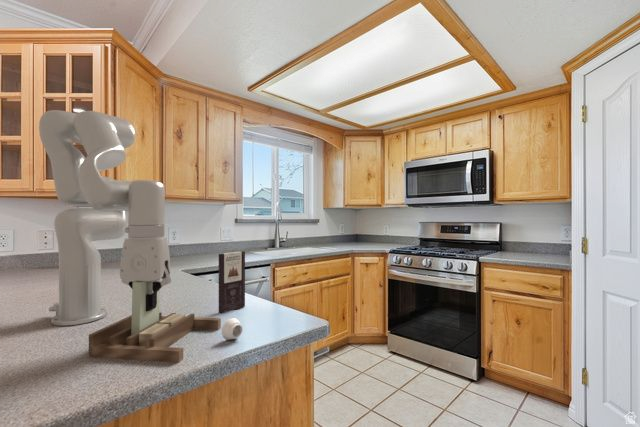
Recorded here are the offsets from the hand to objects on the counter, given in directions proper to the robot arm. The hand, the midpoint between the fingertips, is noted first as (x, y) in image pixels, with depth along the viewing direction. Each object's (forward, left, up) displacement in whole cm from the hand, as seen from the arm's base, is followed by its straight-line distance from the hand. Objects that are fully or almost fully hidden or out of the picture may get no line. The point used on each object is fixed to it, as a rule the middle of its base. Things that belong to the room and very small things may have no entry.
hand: (146, 308), depth 73 cm
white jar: (+21, +2, -8) cm, 22 cm away
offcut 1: (+5, -4, -8) cm, 10 cm away
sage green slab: (0, 0, -5) cm, 5 cm away
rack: (+4, 0, -8) cm, 9 cm away
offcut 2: (+5, +3, -8) cm, 10 cm away
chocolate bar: (+11, +25, -8) cm, 28 cm away
